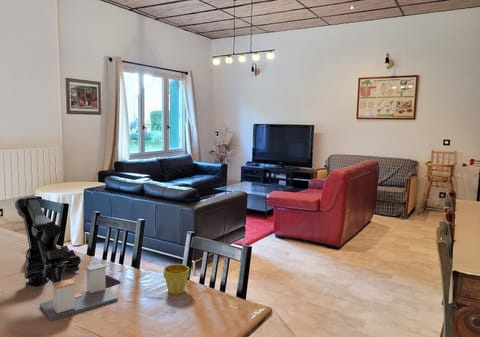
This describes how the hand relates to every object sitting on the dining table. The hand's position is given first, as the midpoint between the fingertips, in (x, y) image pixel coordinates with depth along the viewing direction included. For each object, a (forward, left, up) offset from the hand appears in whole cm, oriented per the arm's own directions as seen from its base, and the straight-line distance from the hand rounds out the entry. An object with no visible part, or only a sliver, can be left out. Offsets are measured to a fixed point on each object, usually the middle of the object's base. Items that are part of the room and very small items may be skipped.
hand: (59, 287), depth 138 cm
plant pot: (+34, +28, -8) cm, 44 cm away
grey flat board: (+5, +5, -8) cm, 10 cm away
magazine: (-32, +30, -8) cm, 44 cm away
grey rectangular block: (+5, +15, -6) cm, 16 cm away
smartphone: (0, +26, -8) cm, 27 cm away
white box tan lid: (+5, -3, -6) cm, 8 cm away
